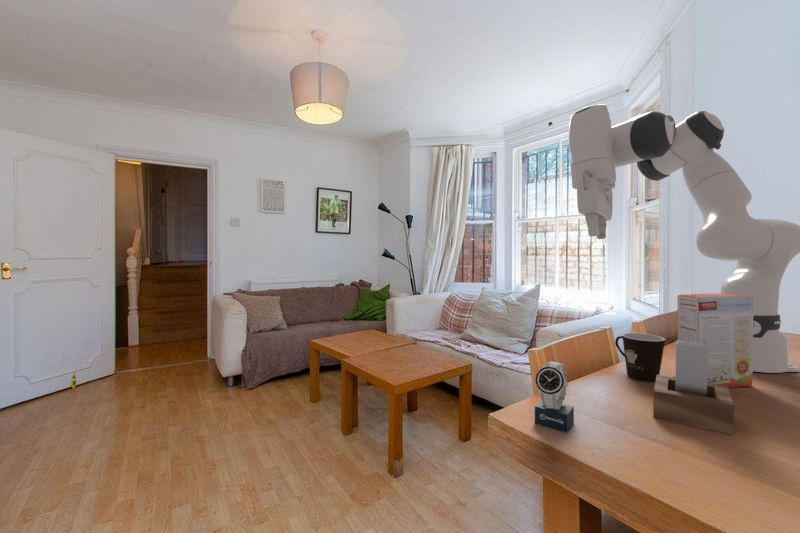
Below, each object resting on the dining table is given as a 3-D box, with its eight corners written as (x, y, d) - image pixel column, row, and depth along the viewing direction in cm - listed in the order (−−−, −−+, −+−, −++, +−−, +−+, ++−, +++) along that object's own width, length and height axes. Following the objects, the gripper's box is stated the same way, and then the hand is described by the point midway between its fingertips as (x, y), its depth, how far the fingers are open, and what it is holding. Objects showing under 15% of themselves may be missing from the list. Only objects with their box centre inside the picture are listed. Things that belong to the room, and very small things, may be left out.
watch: (530, 427, 64) (531, 366, 63) (545, 411, 70) (545, 355, 69) (564, 437, 60) (564, 372, 60) (576, 419, 66) (577, 361, 66)
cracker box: (726, 377, 87) (728, 292, 86) (753, 387, 81) (756, 294, 80) (674, 380, 85) (676, 293, 84) (698, 390, 79) (700, 296, 78)
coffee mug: (671, 384, 83) (672, 341, 82) (630, 382, 85) (631, 340, 84) (647, 368, 94) (648, 331, 94) (611, 366, 96) (612, 329, 96)
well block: (656, 397, 75) (656, 374, 75) (726, 411, 69) (727, 386, 68) (653, 417, 67) (653, 390, 67) (733, 435, 60) (734, 405, 60)
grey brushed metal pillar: (675, 404, 71) (676, 339, 70) (705, 410, 68) (706, 343, 68) (674, 412, 67) (676, 344, 67) (706, 419, 65) (707, 348, 64)
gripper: (600, 163, 71) (606, 232, 71) (615, 182, 87) (620, 238, 87) (566, 170, 75) (571, 236, 75) (587, 187, 91) (591, 241, 91)
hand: (597, 237), depth 81 cm, fingers open, 8 cm apart
